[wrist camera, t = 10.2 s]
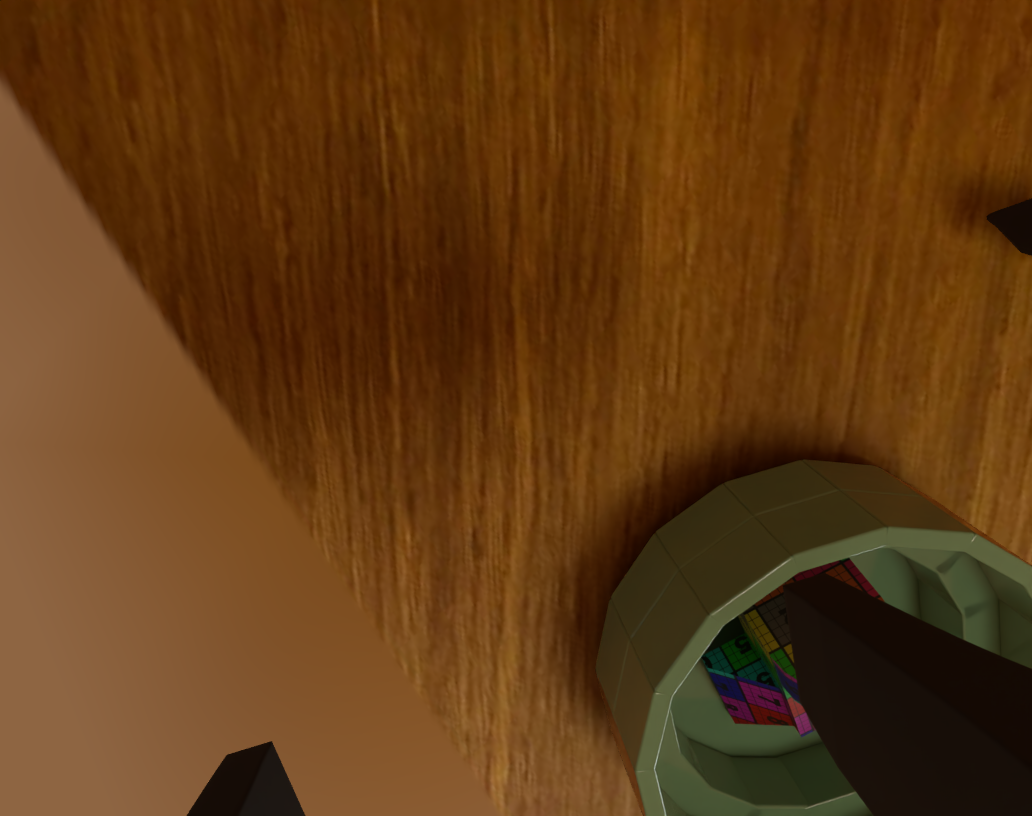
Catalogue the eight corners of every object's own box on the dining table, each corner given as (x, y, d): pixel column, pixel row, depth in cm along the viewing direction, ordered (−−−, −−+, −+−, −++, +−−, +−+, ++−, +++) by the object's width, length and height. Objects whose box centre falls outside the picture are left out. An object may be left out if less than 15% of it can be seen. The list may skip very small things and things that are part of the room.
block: (678, 613, 19) (751, 740, 17) (829, 534, 19) (925, 650, 17) (729, 713, 23) (793, 828, 21) (854, 648, 23) (935, 756, 21)
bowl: (632, 823, 25) (682, 963, 21) (554, 519, 21) (595, 614, 17) (961, 718, 26) (1074, 833, 21) (943, 404, 22) (1075, 469, 18)
